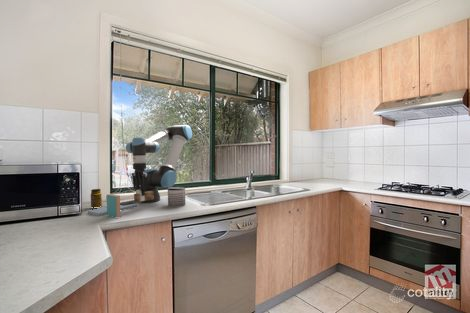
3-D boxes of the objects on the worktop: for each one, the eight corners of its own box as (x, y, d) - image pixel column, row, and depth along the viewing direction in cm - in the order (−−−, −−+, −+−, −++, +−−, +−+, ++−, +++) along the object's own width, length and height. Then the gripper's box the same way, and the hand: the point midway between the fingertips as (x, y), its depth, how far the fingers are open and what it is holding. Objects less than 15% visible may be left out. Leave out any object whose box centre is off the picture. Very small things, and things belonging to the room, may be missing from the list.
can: (164, 205, 151) (164, 187, 150) (180, 202, 158) (179, 185, 158) (172, 208, 142) (172, 189, 142) (188, 205, 150) (188, 187, 149)
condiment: (104, 206, 150) (104, 188, 150) (92, 209, 142) (91, 190, 142) (97, 205, 153) (96, 188, 153) (84, 208, 145) (84, 190, 145)
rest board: (126, 204, 155) (125, 202, 155) (137, 206, 147) (137, 204, 147) (87, 213, 135) (87, 210, 134) (98, 216, 127) (98, 213, 127)
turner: (149, 198, 149) (149, 190, 149) (155, 199, 145) (155, 191, 145) (118, 204, 131) (118, 195, 131) (124, 205, 128) (124, 196, 128)
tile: (110, 214, 130) (110, 194, 129) (120, 217, 124) (119, 195, 124) (106, 215, 128) (106, 194, 127) (116, 218, 122) (115, 196, 122)
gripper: (126, 162, 141) (127, 200, 141) (142, 163, 132) (143, 203, 132) (137, 162, 147) (138, 198, 147) (152, 162, 138) (153, 200, 139)
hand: (140, 200), depth 140 cm, fingers closed on turner, 3 cm apart
